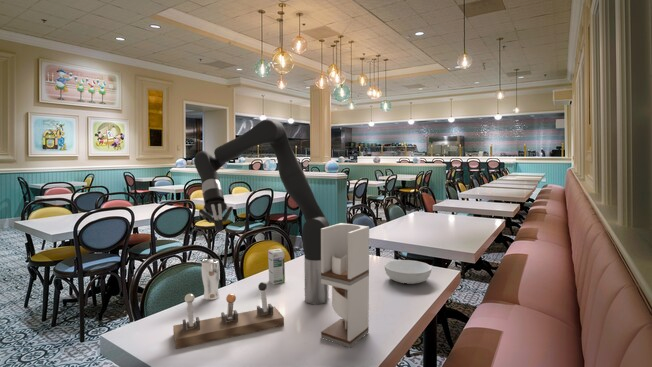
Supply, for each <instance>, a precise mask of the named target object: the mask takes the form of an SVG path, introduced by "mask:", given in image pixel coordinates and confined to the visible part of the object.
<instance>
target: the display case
mask: <svg viewBox="0 0 652 367" xmlns="http://www.w3.org/2000/svg"><path fill="white" fill-rule="evenodd" d="M321 283H322V284H326V285H329V287H330V286H331V306H332V309H333V311H334V313H336V314H337V316H338V317H340V319H338V320H337V321H335V322H334V323H332V324H330V325H329V326H328V327H326V328H325V329H323V330H322V331H320V335H321V336H320V338H321V339H323V338H324V339H323V340H326V339H327V340H326V341H329V340H330V341H329V342H332V341H333V343H334V342H335V344H337V343H338V345H340V344H341V346H343V347H345V348H348V349H351V348H352V347H353V346H354V345H355V343H356V342H357V343H358V342H360V340H362V339H363V338H364V337H365V336H367V335H368V334H369V333H368V332H369V326H370V324H369V322H370V320H369V317H370V315H369V310H370V307H369V306H370V304H369V303H370V226H368V225H367V226H366V225H360V224H352V223H345V222H340V223H336V224H333V225H329V227H325V228H322V229H321ZM367 333H368V334H367ZM366 334H367V335H366ZM364 335H365V336H364ZM363 336H364V337H363ZM362 337H363V338H362ZM361 338H362V339H361ZM357 343H356V344H357ZM350 347H351V348H350Z"/></svg>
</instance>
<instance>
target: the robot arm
mask: <svg viewBox="0 0 652 367" xmlns="http://www.w3.org/2000/svg"><path fill="white" fill-rule="evenodd" d="M263 144H269V145H270V146H271V148H272V150H273V152H274V154H275V157H276V161H277V168H278V169H277V170H278V175H279V178H280V180H281V182H282V185H283V187H284V189H285V190H286V192H287V194H288V196H289V197H290V198H291V199H292V200H293V201H294V202H295V204H297V206H298V208H300V210H301V214H302V215H303V217H304V220H305V222H304V223H303V226H302V229H301V230H302V231H301V232H302V233H301V235H302V251H303V253H304V255H303V256H304V302H305V303H307V304H309V305H310V304H311V305H322V304H328V303H329V296H330V295H329V294H330V293H329V287H330V285H326V284H322V283H321V229H322V228H325V227H329V226H330V222H329V221H328V219H327V217H326V215H325V214H324V212H323V210H322V209H321V207H320V206H319V204H318V201H317V200H316V197H315V195H314V192H313V191H312V188H311V186H310V184H309V182H308V179H307V177H306V175H305V173H304V170H303V168H302V166H301V165H300V163H299V160H298V158H297V156H296V154H295V153H294V150H293V148H292V145H291V143H290V141H289V137H288V135H287V131H286V129H285V127H284V125H283V124H282V122H280V121H278V120H277V119H270V118H267V119H263V120H260V121H259V122H258V123H257V124H255V125H254V126H253V127H252V128H250V129H249V130H247V131H246V132H244V133H243V134H241V135H240V136H238V137H236V138H234V139H231V140H229V141H227V142H225V143H223V144H221V145H218V147H216V148H215V149H214V155H212V154H210V153H209V152H207V151H205V150H201V151H199V152H197V153H196V154H195V156H194V158H193V162H194V166H195V169H196V172H197V173H198V175H199V177H200V182H201V183H200V184H201V191H202V197H203V203H204V206H203V208H200V209H199V210H198V215H199V216H200V217H201V218H202V219H204V220H205V221H207V223H209V224H212V223H213V224H214V229H215V231H217V232H218V233H219V232H223V230H224V222H227V220H228V219H229V217H230V215H232V213H233V208H234V207H233V206H229V205H227V203H226V201H225V197H224V191H223V187H222V184H221V182H220V181H221V180H220V177H219V173H218V172H217V171H219V169H221V168H222V167H223V166H224V165H225V164H227V163H228V162H230V161H232V160H234V159H236V158H238V157H240V156H242V154H244V153H245V152H247V151H248V150H249V149H252V148H253V147H256V146H260V145H263ZM224 212H225V213H224ZM223 214H224V215H223Z"/></svg>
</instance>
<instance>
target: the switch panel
mask: <svg viewBox="0 0 652 367" xmlns="http://www.w3.org/2000/svg"><path fill="white" fill-rule="evenodd" d="M267 307H269V313H267V314H262V309H261V308H262V306H260V305H256V309H253V310H248V311H242V312H239V313H238V311H237V310H236V309H235V310H234V309H233V314H234V320H231V321H226V316H225V315H226V314H225V312H224V311H223V312H221V313H220V314H221V315H220V316H218V317H217V316H216V317H213V318H206V319H201V320H200V318H199V316H196V317H195V322H196V328H190V329H187V321H186V318H185V319H182V323H180V324H174V325H172V327H173V332H172V333H173V340H174V345H175V349H176V350H177V349H183V348H187V347H193V346H197V345H202V344H206V343H210V342H214V341H215V342H216V341H220V340H225V339H229V338H235V337H238V336H244V335H248V334H253V333H256V332H257V333H258V332H262V331H267V330H272V329H276V328H281V327H285V317H284V316H283V315H282V313H281V312H280V311H279V310H278V309H277V307H275V306H273V305H272V304H271V303H267Z"/></svg>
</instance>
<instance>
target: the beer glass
mask: <svg viewBox="0 0 652 367" xmlns="http://www.w3.org/2000/svg"><path fill="white" fill-rule="evenodd" d="M220 270H221V269H220V260H219V259H218V258H206V259H203V260H202V261H201V279H202V284H203V290H204V292H203V299H204V301H214V300H217V299H219V298H220V293H219V282H220V276H221V275H220V274H221V271H220Z"/></svg>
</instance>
